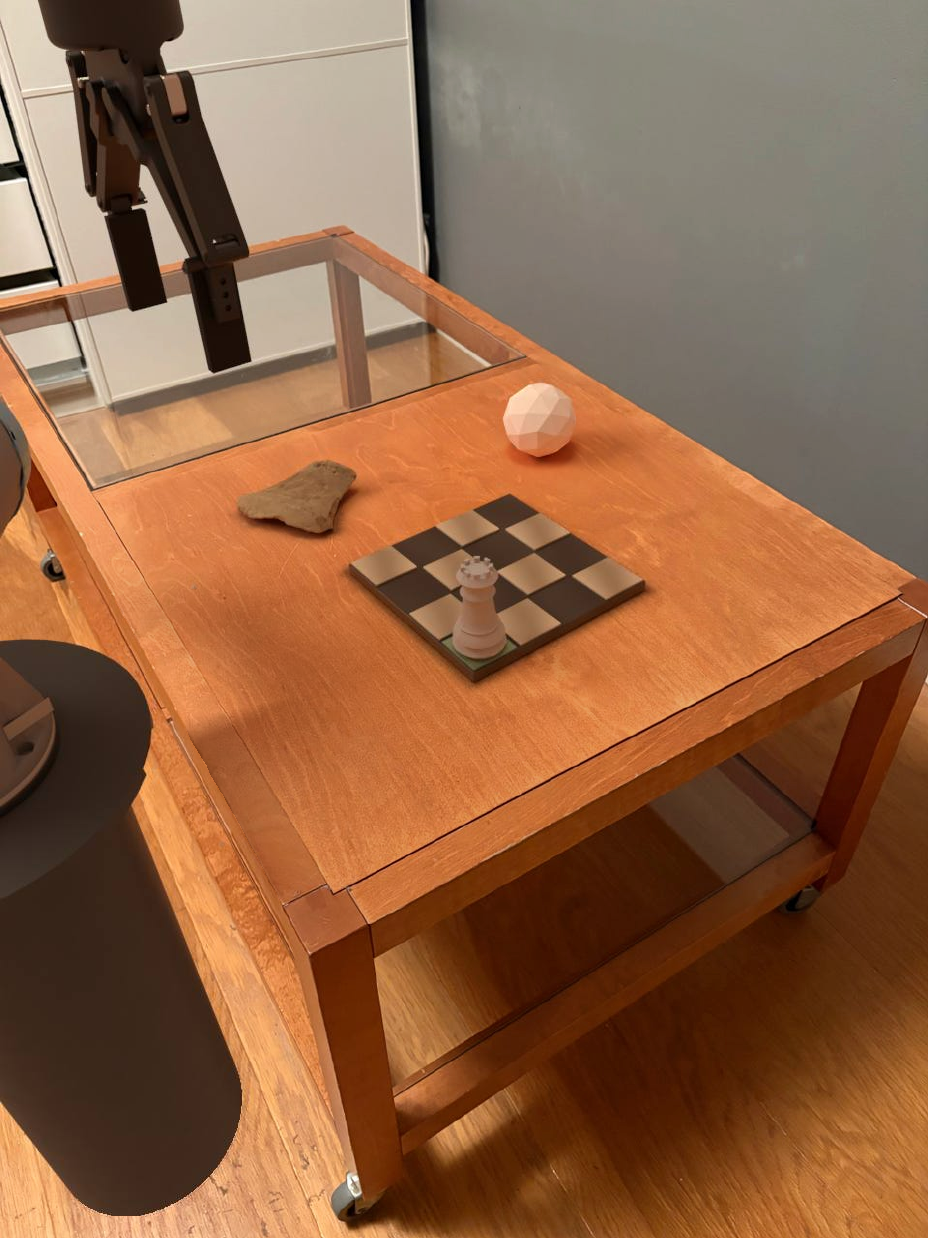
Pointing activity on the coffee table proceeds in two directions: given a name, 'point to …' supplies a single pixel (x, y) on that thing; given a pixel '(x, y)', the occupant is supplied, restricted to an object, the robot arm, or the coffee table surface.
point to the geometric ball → (539, 419)
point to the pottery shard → (302, 497)
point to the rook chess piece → (478, 612)
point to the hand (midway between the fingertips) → (186, 334)
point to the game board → (525, 589)
